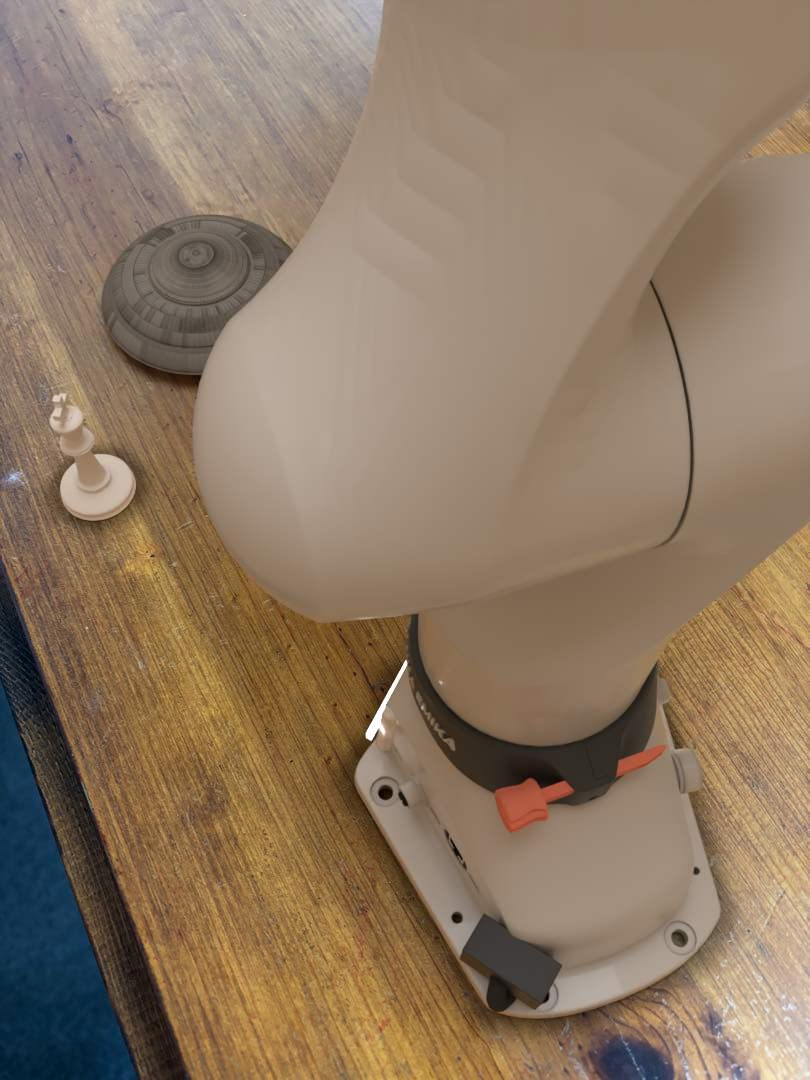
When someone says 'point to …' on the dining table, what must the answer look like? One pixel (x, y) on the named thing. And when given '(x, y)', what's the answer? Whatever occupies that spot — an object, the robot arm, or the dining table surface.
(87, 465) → the chess piece
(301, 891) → the dining table surface
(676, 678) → the dining table surface
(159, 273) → the flying saucer
